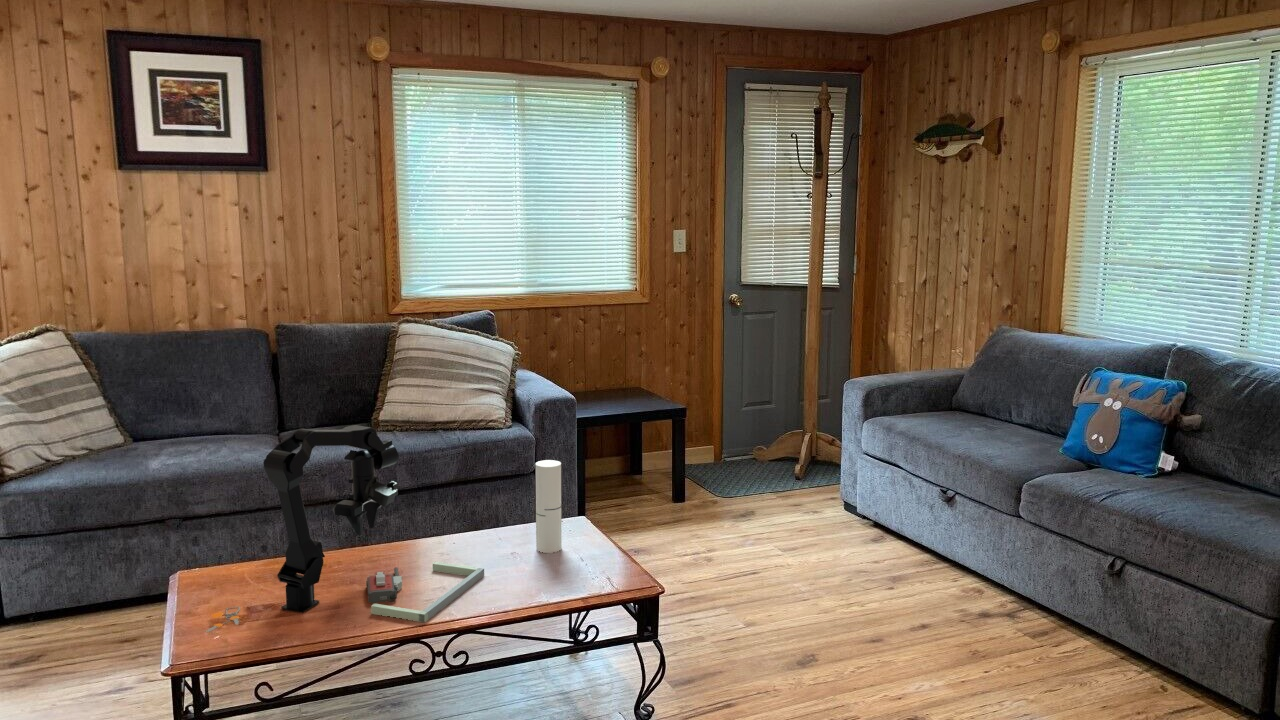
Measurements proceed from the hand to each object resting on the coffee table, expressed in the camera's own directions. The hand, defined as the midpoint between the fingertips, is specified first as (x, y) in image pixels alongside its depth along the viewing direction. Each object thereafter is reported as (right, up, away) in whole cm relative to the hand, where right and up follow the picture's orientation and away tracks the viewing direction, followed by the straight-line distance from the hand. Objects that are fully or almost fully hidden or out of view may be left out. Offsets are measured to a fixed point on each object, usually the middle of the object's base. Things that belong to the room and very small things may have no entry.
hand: (365, 531), depth 250 cm
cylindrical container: (+46, -9, +23) cm, 52 cm away
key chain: (-26, -17, -25) cm, 39 cm away
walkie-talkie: (+6, -14, -6) cm, 16 cm away
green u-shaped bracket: (+19, -14, -9) cm, 25 cm away
